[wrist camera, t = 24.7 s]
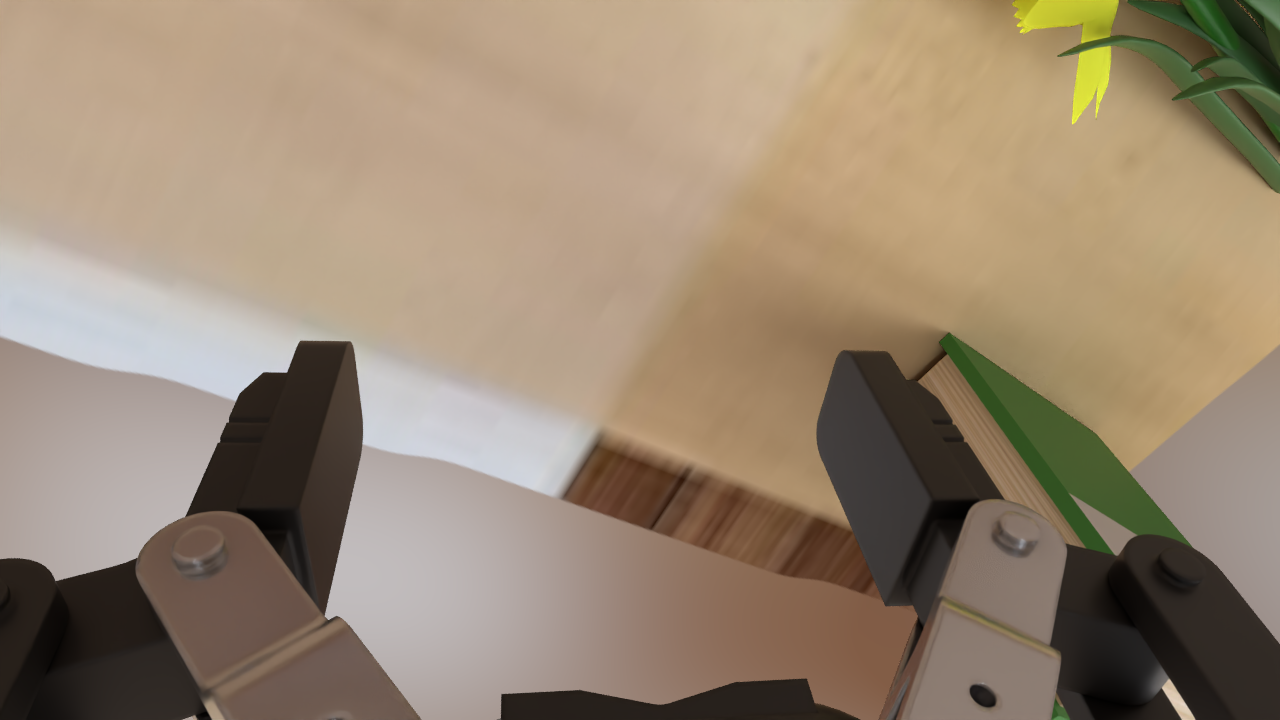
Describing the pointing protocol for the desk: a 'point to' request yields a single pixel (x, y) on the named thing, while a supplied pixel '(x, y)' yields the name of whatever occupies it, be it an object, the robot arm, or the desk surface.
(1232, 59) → the daffodil flowers
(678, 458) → the desk surface
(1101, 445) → the hardback book
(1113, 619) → the robot arm
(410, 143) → the desk surface
